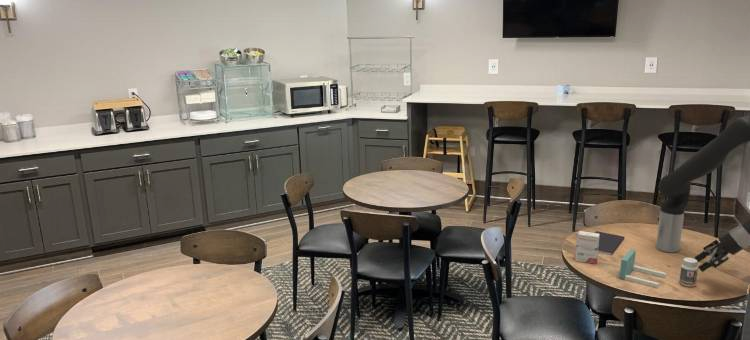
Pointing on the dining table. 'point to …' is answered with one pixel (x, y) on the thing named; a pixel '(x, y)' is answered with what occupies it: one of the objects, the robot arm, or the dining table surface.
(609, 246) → the notebook
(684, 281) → the pill bottle
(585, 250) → the ink box
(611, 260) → the dining table surface
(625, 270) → the pocket
